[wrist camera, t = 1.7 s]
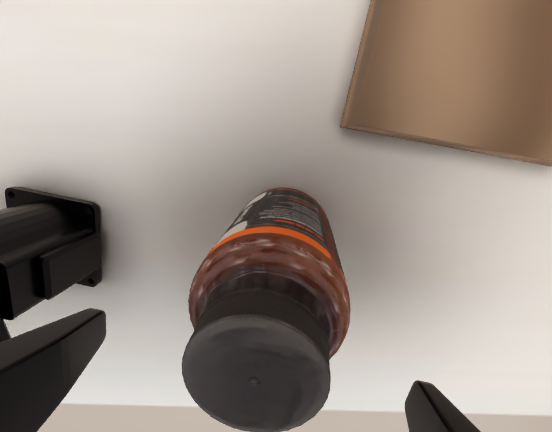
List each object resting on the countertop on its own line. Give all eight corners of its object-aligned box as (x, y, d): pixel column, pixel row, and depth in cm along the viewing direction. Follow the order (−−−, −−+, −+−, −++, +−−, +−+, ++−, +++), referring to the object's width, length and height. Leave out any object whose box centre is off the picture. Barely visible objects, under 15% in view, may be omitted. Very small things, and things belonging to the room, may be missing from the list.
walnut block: (340, 126, 15) (352, 123, 12) (408, -156, 12) (459, -296, 8) (551, 166, 15) (637, 176, 11) (690, -115, 11) (890, -244, 7)
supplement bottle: (231, 192, 17) (110, 289, 6) (323, 179, 16) (363, 264, 6) (249, 274, 19) (176, 461, 8) (333, 265, 18) (380, 462, 7)
